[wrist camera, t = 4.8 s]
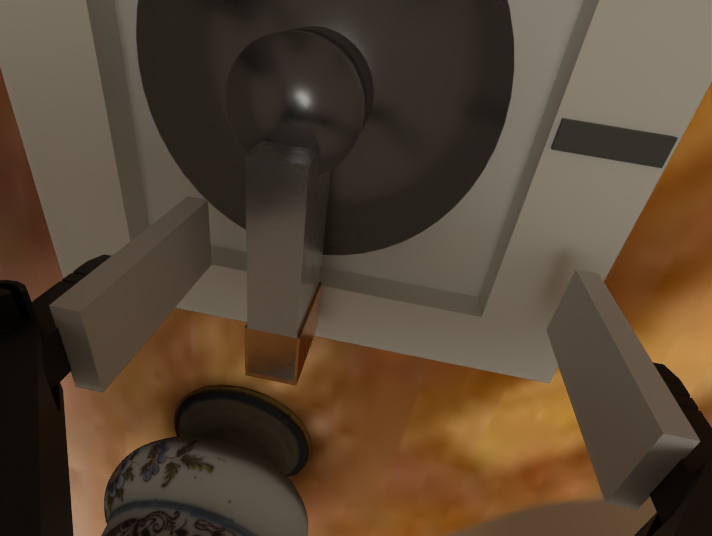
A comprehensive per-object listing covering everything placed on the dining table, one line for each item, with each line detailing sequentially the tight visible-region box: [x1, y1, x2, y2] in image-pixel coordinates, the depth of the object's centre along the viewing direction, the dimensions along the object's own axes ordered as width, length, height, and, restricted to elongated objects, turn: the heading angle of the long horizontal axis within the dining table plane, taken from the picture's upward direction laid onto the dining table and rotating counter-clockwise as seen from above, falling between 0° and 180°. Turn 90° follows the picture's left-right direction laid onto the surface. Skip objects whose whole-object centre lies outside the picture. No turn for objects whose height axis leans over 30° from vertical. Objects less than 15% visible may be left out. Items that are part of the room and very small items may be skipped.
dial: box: [136, 0, 514, 385], centre depth 14 cm, size 16×13×6 cm
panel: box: [0, 0, 712, 383], centre depth 16 cm, size 22×24×3 cm
